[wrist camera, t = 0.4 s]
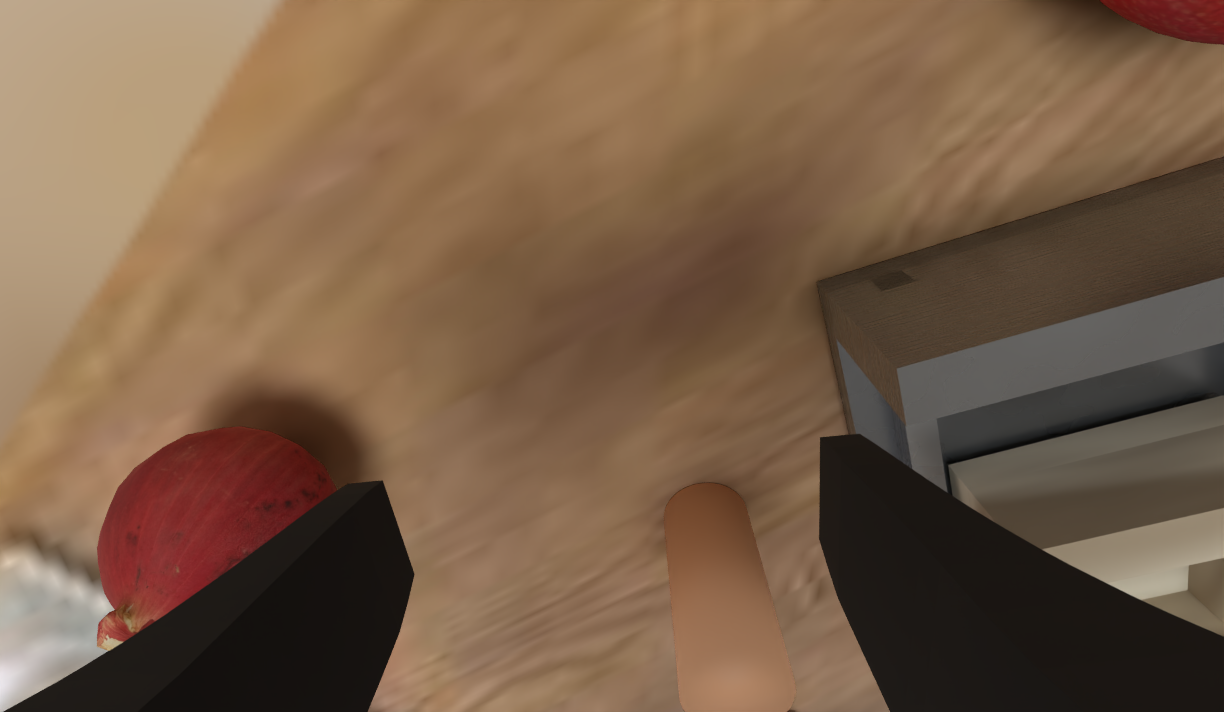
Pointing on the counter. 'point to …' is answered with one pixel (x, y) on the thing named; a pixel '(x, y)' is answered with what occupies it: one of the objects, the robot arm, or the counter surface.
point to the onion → (197, 519)
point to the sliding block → (1121, 504)
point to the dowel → (722, 607)
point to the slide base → (1036, 325)
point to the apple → (1176, 17)
